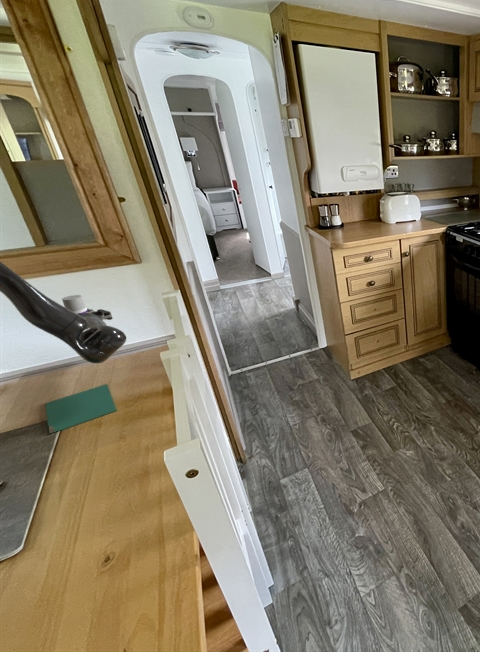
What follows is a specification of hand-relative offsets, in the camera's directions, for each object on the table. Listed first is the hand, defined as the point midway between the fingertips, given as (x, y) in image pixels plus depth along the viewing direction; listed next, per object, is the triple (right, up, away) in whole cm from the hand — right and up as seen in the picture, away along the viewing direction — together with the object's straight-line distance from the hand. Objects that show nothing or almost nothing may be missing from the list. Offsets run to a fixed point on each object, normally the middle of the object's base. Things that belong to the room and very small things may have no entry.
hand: (77, 313), depth 124 cm
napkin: (+21, -26, -19) cm, 38 cm away
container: (+2, -9, +2) cm, 9 cm away
